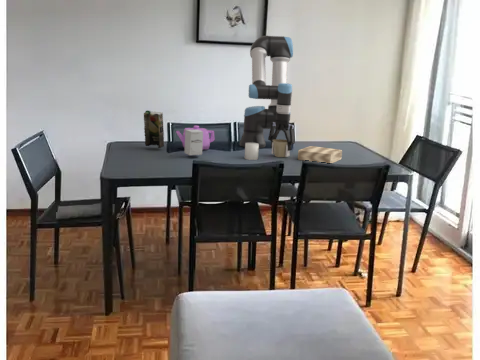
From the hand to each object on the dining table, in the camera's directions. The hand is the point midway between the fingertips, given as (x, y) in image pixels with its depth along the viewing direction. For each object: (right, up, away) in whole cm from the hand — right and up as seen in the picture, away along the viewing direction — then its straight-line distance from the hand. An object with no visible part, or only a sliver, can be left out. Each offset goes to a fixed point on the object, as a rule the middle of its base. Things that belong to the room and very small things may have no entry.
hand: (280, 155), depth 307 cm
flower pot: (0, -1, 0) cm, 1 cm away
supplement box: (-46, 0, -6) cm, 47 cm away
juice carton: (-70, +5, +9) cm, 70 cm away
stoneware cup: (-16, -2, -10) cm, 19 cm away
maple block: (+21, -2, -2) cm, 21 cm away
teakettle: (-47, +5, +14) cm, 49 cm away
